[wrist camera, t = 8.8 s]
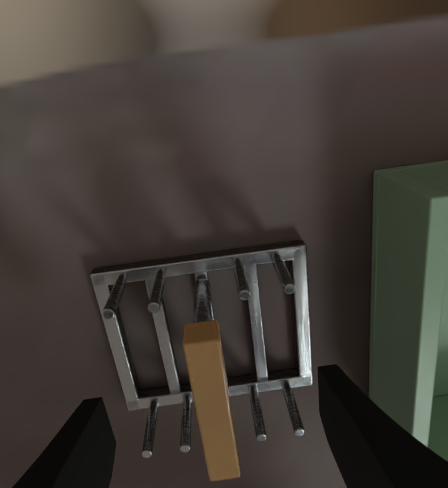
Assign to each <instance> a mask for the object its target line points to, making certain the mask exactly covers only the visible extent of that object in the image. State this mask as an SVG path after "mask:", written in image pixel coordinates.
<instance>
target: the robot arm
mask: <svg viewBox="0 0 448 488" xmlns="http://www.w3.org/2000/svg"><path fill="white" fill-rule="evenodd" d="M318 387H319V411H320V417H321V420H322V424H323V427H324V430H325V434H326V437H327V440H328V443H329V446H330V448H331V451H332V453H333V456H334V458H335V460H336V463H337V465H338V468H339V470H340V472H341V475H342V477H343V479H344V482H345V484H346V487H347V488H448V461H446V460H445V459H443V458H442V457H441V456H439V455H438V454H436V453H435V452H433V451H432V450H431V449H429V448H428V447H427V446H425V445H424V444H423V443H421V442H420V441H419V440H417V439H416V438H415V437H413V436H412V435H411V434H410V433H408V432H407V431H406V430H405V429H404V428H402V427H401V426H400V425H399V424H398V423H396V422H395V421H394V420H393V419H392V418H391V417H389V416H388V415H387V414H386V413H385V412H384V411H383V410H382V409H381V408H380V407H378V406H377V405H376V404H375V403H374V402H373V401H372V400H371V399H370V398H369V397H368V396H367V395H366V394H365V393H364V392H363V391H362V390H361V389H360V388H359V387H358V386H357V385H356V384H355V383H354V382H353V381H352V380H351V379H350V378H349V377H348V376H347V375H346V374H345V373H344V371H343V370H342V369H341V368H340V367H339V366H338V365H336V364H334V365H327V366H320V367H318ZM115 448H116V440H115V437H114V434H113V431H112V428H111V424H110V421H109V418H108V415H107V412H106V408H105V405H104V402H103V399H102V397H99V398H92V399H85V400H83V401H82V402H81V404H80V405H79V406H78V407H77V409H76V410H75V411H74V413H73V414H72V415H71V416H70V418H69V419H68V420H67V422H66V423H65V424H64V426H63V427H62V428H61V429H60V431H59V432H58V433H57V435H56V436H55V437H54V438H53V440H52V441H51V442H50V443H49V445H48V446H47V447H46V448H45V450H44V451H43V452H42V453H41V455H40V456H39V457H38V458H37V460H36V461H35V462H34V463H33V464H32V465H31V467H30V468H29V469H28V470H27V471H26V472H25V473H24V475H23V476H22V477H21V478H20V479H19V480H18V482H17V483H16V484H15V485H14V486H13V487H12V488H109V485H110V481H111V477H112V471H113V464H114V456H115Z"/></svg>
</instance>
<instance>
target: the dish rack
mask: <svg viewBox="0 0 448 488" xmlns="http://www.w3.org/2000/svg"><path fill="white" fill-rule="evenodd" d="M289 260H290V272H291V276H290V274H289V271H288V269H287V267H286V265H285V263H284V261H289ZM267 263H273V265H274V267H275V270H276V272H277V275H278V277H279V279H280V282H281V284H282V287H283V289H284V291H285V293H287V294H292V302H293V318H294V333H295V349H296V364H297V368H296V369H289V370H282V371H274V372H267V363H266V353H265V343H264V334H263V324H262V314H261V304H260V294H259V284H258V274H257V265H260V264H267ZM231 268H234V274H235V279H236V284H237V290H238V295H239V298H240V299H241V300H244V301H245V300H248V308H249V317H250V325H251V334H252V343H253V352H254V360H255V369H256V374H253V375H246V376H239V377H231V378H227V374H226V368H225V361H224V354H223V348H222V341H221V335H220V328H219V322H218V321H217V320H215V318H214V312H213V306H212V299H211V293H210V283H209V280H208V274H207V272H209V271H216V270H223V269H231ZM187 274H195V280H196V282H195V293H194V323H190V324H185V325H184V331H183V350H184V355H185V360H186V365H187V370H188V375H189V380H190V383H189V384H181V383H180V378H179V374H178V369H177V364H176V359H175V355H174V350H173V345H172V340H171V336H170V331H169V326H168V321H167V317H166V312H165V307H164V302H163V298H162V294H163V288H164V283H165V277H172V276H180V275H187ZM90 277H91V281H92V284H93V288H94V291H95V295H96V298H97V302H98V305H99V309H100V312H101V316H102V319H103V323H104V326H105V330H106V333H107V337H108V340H109V344H110V347H111V351H112V354H113V358H114V361H115V365H116V368H117V372H118V375H119V379H120V382H121V386H122V389H123V393H124V397H125V400H126V404H127V408H128V410H129V411H130V410H137V409H145V408H149V410H148V416H147V423H146V429H145V436H144V442H143V449H142V456H143V457H145V458H149V457H151V455H152V451H153V443H154V435H155V427H156V420H157V412H158V407H159V406H166V405H173V404H180V403H182V420H181V440H180V450H181V451H182V452H188V451H189V450H190V442H191V402H194V405H195V410H196V415H197V420H198V426H199V431H200V436H201V441H202V446H203V451H204V456H205V461H206V466H207V471H208V476H209V480H210V481H218V480H225V479H232V478H239V477H240V475H241V473H240V464H239V454H238V447H237V440H236V434H235V427H234V420H233V414H232V407H231V401H230V396H237V395H244V394H249V396H250V402H251V408H252V414H253V420H254V426H255V432H256V438H257V440H258V441H260V442H263V441H265V440H266V438H267V436H266V431H265V426H264V421H263V415H262V410H261V405H260V400H259V395H258V393H259V392H266V391H273V390H280V389H283V393H284V397H285V400H286V404H287V408H288V411H289V415H290V418H291V422H292V426H293V429H294V433H295V435H296V436H302V435H303V434H304V432H305V431H304V427H303V424H302V421H301V418H300V414H299V411H298V408H297V404H296V401H295V398H294V395H293V391H292V388H294V387H302V386H309V385H313V377H312V358H311V336H310V314H309V293H308V271H307V249H306V244H305V243H304V241H303V240H298V241H291V242H284V243H276V244H269V245H262V246H254V247H247V248H240V249H233V250H225V251H218V252H211V253H203V254H196V255H189V256H181V257H174V258H167V259H160V260H152V261H145V262H138V263H130V264H123V265H116V266H108V267H101V268H94V269H93V270H92V272H91V274H90ZM143 280H145V284H146V289H147V293H148V298H149V304H148V310H149V311H150V312H151V313H152V315H153V320H154V324H155V329H156V333H157V337H158V342H159V346H160V351H161V355H162V360H163V364H164V368H165V373H166V377H167V382H168V386H167V387H160V388H153V389H146V390H140V388H139V385H138V381H137V377H136V373H135V369H134V366H133V362H132V358H131V354H130V350H129V347H128V343H127V339H126V335H125V331H124V328H123V324H122V320H121V316H120V312H119V309H118V304H119V302H120V299H121V296H122V293H123V291H124V288H125V285H126V283H129V282H136V281H143ZM112 285H114V286H112Z"/></svg>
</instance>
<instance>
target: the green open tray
mask: <svg viewBox="0 0 448 488" xmlns="http://www.w3.org/2000/svg"><path fill="white" fill-rule="evenodd" d="M369 398H370V399H371V400H372V401H373V402H374V403H375V404H376V405H377V406H378V407H380V408H381V409H382V410H383V411H384V412H385V413H386V414H387V415H388V416H389V417H391V418H392V419H393V420H394V421H395V422H396V423H398V424H399V425H400V426H401V427H402V428H404V429H405V430H406V431H407V432H408V433H410V434H411V435H412V436H413V437H415V438H416V439H417V440H419V441H420V442H421V443H423V444H424V445H425V446H427V447H428V448H429V449H431V450H432V451H433V452H435V453H436V454H438V455H439V456H441V457H442V458H443V459H445V460H446V461H448V160H445V161H437V162H430V163H423V164H416V165H408V166H401V167H394V168H386V169H379V170H374V177H373V223H372V269H371V315H370V361H369Z"/></svg>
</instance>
